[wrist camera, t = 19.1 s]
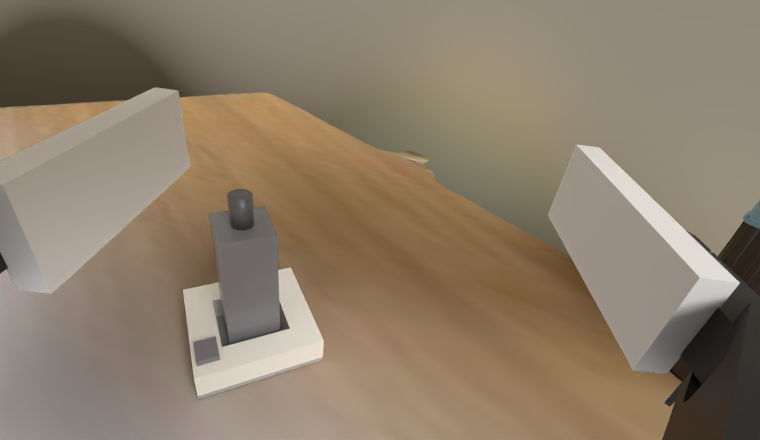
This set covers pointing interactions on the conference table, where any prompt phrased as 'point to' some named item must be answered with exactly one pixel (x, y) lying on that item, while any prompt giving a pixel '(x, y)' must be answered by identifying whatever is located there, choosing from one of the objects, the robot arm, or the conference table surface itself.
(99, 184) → the robot arm
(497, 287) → the conference table surface
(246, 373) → the socket
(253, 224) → the plug
